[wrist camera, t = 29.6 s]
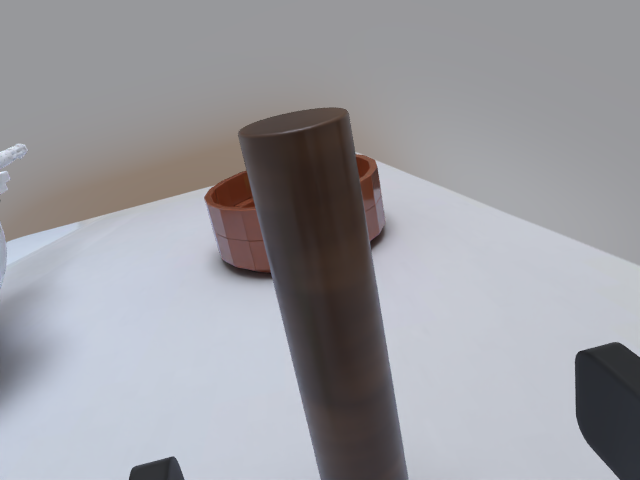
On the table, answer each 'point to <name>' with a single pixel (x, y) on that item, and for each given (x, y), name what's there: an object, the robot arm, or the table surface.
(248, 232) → the bowl
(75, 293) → the table surface
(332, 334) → the stick
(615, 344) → the robot arm
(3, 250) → the tracked sphere vehicle
